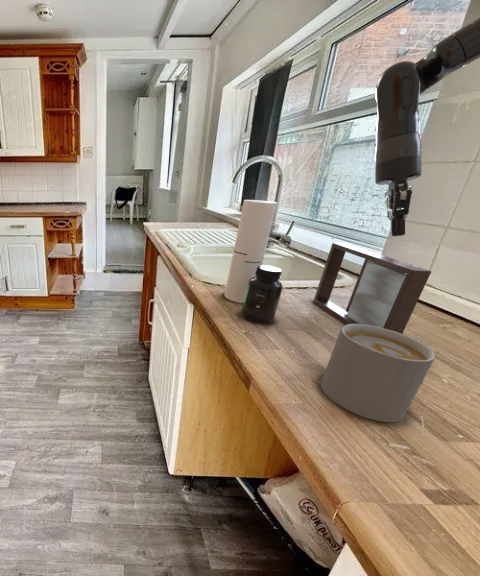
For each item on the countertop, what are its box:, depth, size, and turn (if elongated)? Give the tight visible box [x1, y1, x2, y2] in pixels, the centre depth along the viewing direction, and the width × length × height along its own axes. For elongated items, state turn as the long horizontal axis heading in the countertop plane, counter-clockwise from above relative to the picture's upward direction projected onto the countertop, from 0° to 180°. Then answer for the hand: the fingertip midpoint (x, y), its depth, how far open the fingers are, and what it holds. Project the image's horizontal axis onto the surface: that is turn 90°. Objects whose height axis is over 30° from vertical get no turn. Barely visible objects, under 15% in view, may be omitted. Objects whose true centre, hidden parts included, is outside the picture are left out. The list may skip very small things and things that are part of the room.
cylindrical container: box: [223, 199, 278, 304], centre depth 77 cm, size 7×7×25 cm
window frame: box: [313, 242, 432, 335], centre depth 68 cm, size 22×3×16 cm, turn 177°
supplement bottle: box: [241, 264, 284, 325], centre depth 69 cm, size 7×7×12 cm
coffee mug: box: [320, 324, 436, 423], centre depth 46 cm, size 13×10×10 cm
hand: (397, 235), depth 71 cm, fingers closed
